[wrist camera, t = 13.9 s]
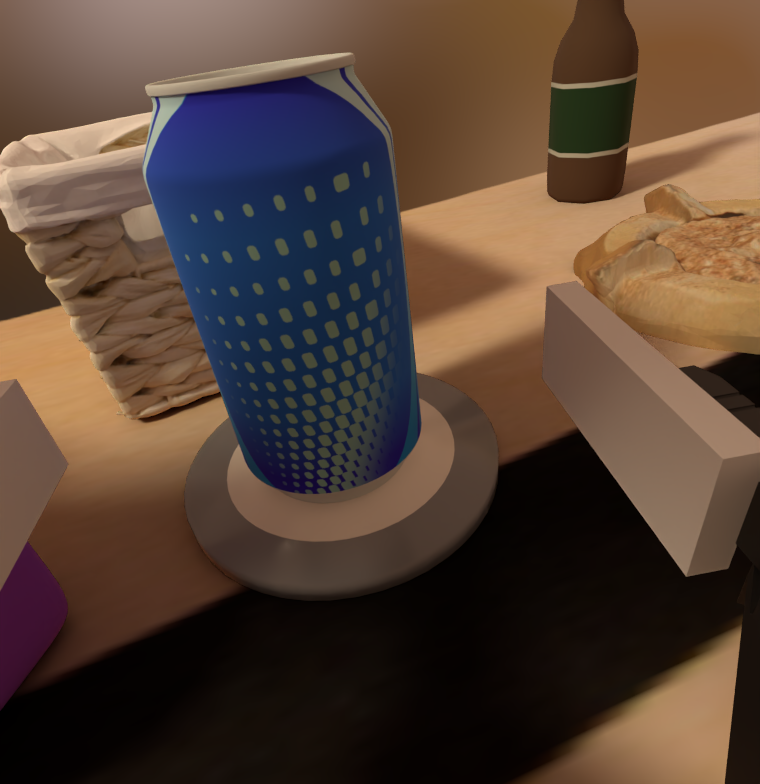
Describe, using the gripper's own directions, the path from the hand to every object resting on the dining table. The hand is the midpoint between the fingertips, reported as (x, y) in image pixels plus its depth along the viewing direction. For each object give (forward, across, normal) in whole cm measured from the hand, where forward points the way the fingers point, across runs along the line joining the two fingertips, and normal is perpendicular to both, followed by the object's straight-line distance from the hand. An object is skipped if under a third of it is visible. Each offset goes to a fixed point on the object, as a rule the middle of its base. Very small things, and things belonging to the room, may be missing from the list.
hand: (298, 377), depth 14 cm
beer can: (+8, 0, -10) cm, 13 cm away
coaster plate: (+8, 0, -10) cm, 13 cm away
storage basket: (+28, -10, -11) cm, 31 cm away
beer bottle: (+45, +29, -11) cm, 55 cm away
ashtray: (+20, +30, -11) cm, 38 cm away
